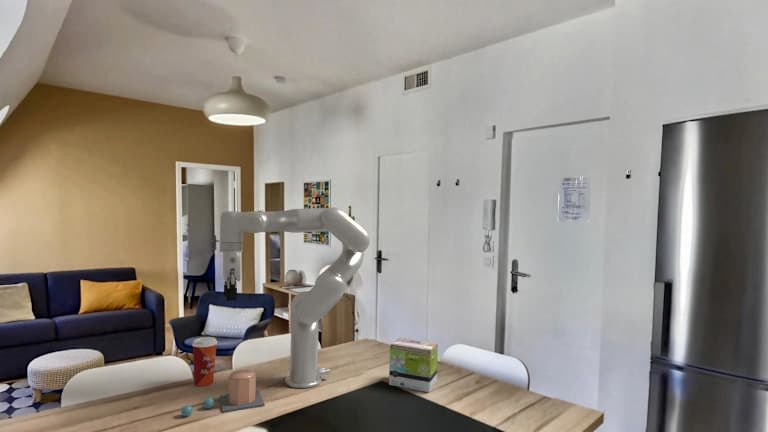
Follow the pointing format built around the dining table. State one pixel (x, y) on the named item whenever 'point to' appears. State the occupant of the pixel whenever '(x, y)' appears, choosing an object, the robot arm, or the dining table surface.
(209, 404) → the marble
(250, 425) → the dining table surface
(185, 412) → the marble
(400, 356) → the tea box
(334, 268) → the robot arm
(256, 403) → the charcoal mat
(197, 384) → the coffee cup
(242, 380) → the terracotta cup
